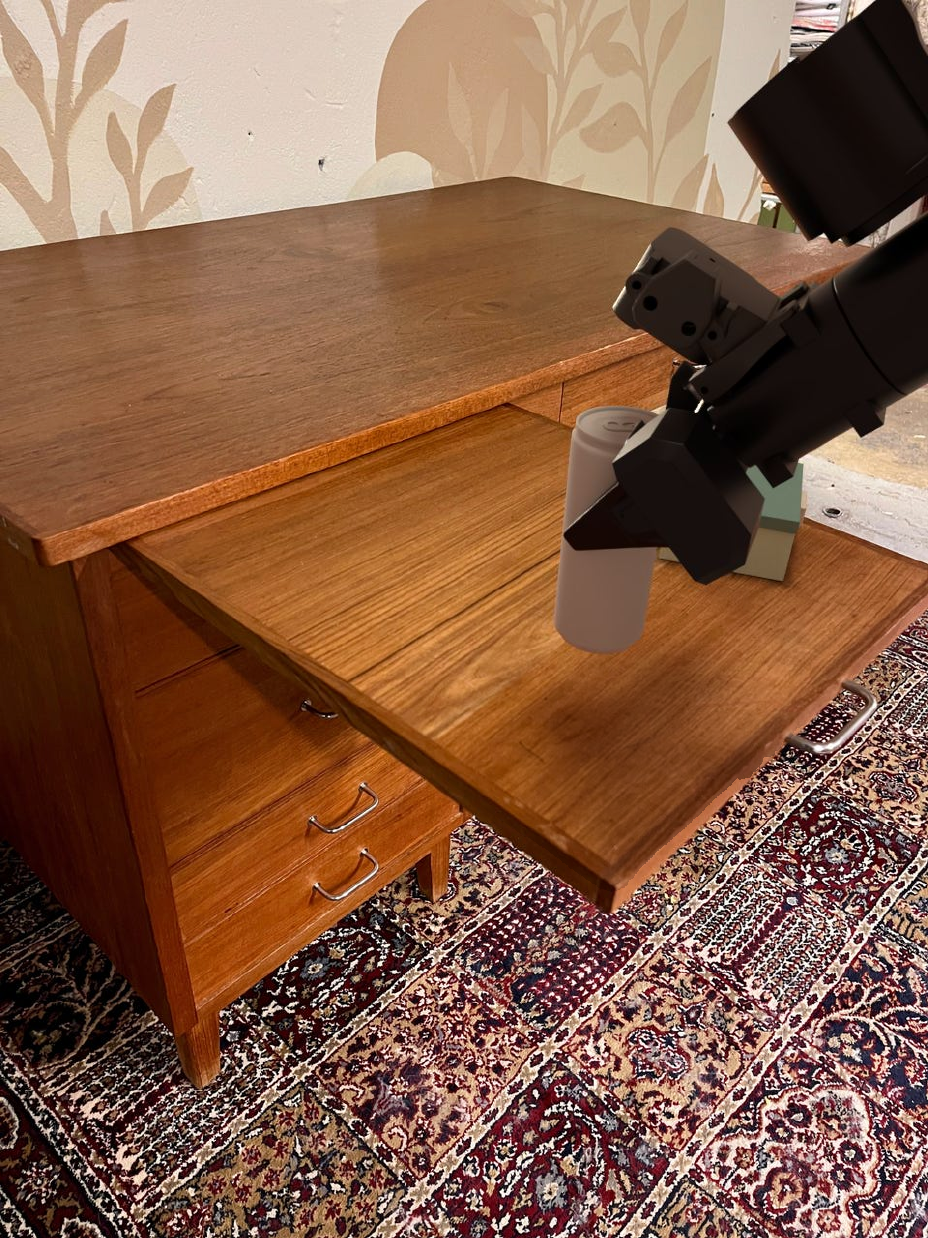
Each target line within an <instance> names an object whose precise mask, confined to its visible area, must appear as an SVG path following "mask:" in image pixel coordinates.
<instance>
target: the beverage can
mask: <svg viewBox="0 0 928 1238" xmlns="http://www.w3.org/2000/svg"><path fill="white" fill-rule="evenodd" d="M658 415H660V413H656V412H654V411H651V410H648V409H644V408H639V407H634V406H627V405H603V406H596V407H593V408H589V409H586V410H584V411H582V412H580V414H578V415H577V417H576V419H575V427H574V428H573V430H572V433H571V439H570V450H569V460H568V468H567V469H568V471H567V479H566V480H567V481H566V489H565V501H564V509H563V510H564V512H563V521H562V529H561V540H560V550H559V551H560V552H559V562H558V572H557V581H556V591H555V592H556V593H555V601H554V613H553V625H554V628H555V631H556V633H558V634H559V635H560V637H561V638H562V640H563V641H564V642H565V643H567V644H568V645H570V646H571V647H573V648H576V649H577V650H580V651H584V652H587V653H589V654H596V655H613V654H617V653H620V652H623V651H625V650H627V649H629V648H631V647H632V646H633V645H635V644H636V643H637V642H638V641H639V640H640V639H641V637H642V636H643V633H644V631H645V624H646V618H647V611H648V606H649V599H650V592H651V586H652V581H653V580H652V579H653V575H654V568H655V563H656V556H657V549H658V548H625V549H606V550H587V551H576V550H574V549H573V548H572V547H571V546H570V545H569V543H568V542H567V541H566V540H565V538H564V536H563V534H564V532H565V530H566V529H567V528H568V527H569V526H570V525H571V524H572V523H573V522H574V521H575V520H576V519H577V518H578V517H579V516H580V515H581V514H582V513H583V512H584V511H585V510H586V509H587V508H588V507H590V506H591V505H592V504H593V503H594V502H595V501H596V500H597V499H598V498H599V497H600V496H601V495H602V494H603V493H604V492H605V491H606V490H607V489H608V488H609V487H610V486H611V485H612V484H614V483H615V482H616V481H617V479H616V476H615V472H614V469H613V465H612V462H613V461H614V459H615V458H616V457H617V455H618V454H619V452H620V451H621V450H622V448H623V447H624V445H625V442H626V440H627V439H628V437H629V436H630V434H631V433H632V432H633V430H634V429H635V427H636V426H637V425H638V423H639V422H640V420H643V422H644V423H645V424H647V423H648V422H649V421H651V420H652V419H654V418H655V417H657V416H658Z"/></svg>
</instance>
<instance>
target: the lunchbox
mask: <svg viewBox="0 0 928 1238" xmlns="http://www.w3.org/2000/svg"><path fill="white" fill-rule="evenodd" d="M804 464H805V463H802V462H798V464H797V467H796V470H795V474H794V477H792V478H791V479H789V480H787V481H785V482H784V483H782V484H780V485H778V486H777V487H775V488H772V487H771V485H770V484H769V482H768V481H767V480H766V478H765V477H764V476H763V474H762V473H761V472H760V470H759V469H758V468H757V466H756V465H755V466H753V467H752V468H749V467H748V470H747V472H746V474H747V475H748V477H749V478H750V479H751V481H752V482H753V483H754V485H755V486H756V487H757V489H758V490H759V491H760V493H761V494H762V496H763V497H764V498H765V501H764V506H763V510H762V514H761V519H760V523H759V527H758V530H757V533H756V536H755V539H754V541H753V544H752V547H751V550H750V553H749V556H748V558H747V561H746V564H745V565H744V566H742V567H740V568H738V569H736V570H734V571H732V572H731V573H736V574H742V575H746V576H751V577H757V578H764V579H768V580H773V581H779V582H783V581H784V578H785V574H786V570H787V567H788V563H789V559H790V556H791V552H792V549H793V544H794V540H795V536H796V535H797V534H798V531H799V528H801V527H803V523H804V519H805V516H806V512H807V508H808V507H807V506H808V503H807V502H808V491H807V490H803V481H804V480H803V479H804ZM658 558H659V559H661V560H666V561H671V562H677V563H680V562H679V560H678V559H677V558H676V556H675V555H674V554H673V552H672V551H671V550H670V549H669V548H660V552H659V557H658Z"/></svg>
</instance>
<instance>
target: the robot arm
mask: <svg viewBox="0 0 928 1238" xmlns="http://www.w3.org/2000/svg"><path fill="white" fill-rule="evenodd" d="M726 124H727V125H728V127H729V128H730V130H731V131H732V132H733V134H734V135H735V137H736V138H737V140H738V142H739V143H740V144H741V146H742V147H743V149H744V150H745V151H746V154H748V156H749V158H750V159H751V160H752V162H753V163H754V165H755V166H756V167H757V169H758V171H759V172H760V174H761V175H762V177H763V178H764V179H765V182H767V184H768V185H769V187H770V188H771V189H772V191H773V192H774V194H775V195H776V197H777V198H778V200H779V201H780V203H781V204H782V206H783V208H785V210H786V212H787V213H788V215H789V216H790V217H791V219H792V220H793V222H794V224H795V225H796V227H797V228H798V229H799V231H800V233H801V234H802V235H803V237H804V238H805V239H806V241H807V242H811V241H813V240H815V239H816V238H818V237H820V236H822V235H823V234H824V235H825V237H826V238H827V240H828V242H829V243H830V244H831V245H832V244H834V243H837V241H839V240H841V242H842V243H843V245H844V247H845V248H850V247H852V246H854V245H856V244H858V243H859V242H861V241H862V240H864V239H866V238H868V237H869V236H871V235H873V234H874V233H875V232H877V231H878V230H880V229H881V228H882V227H884V226H886V225H887V224H889V222H891V221H892V220H894V219H895V218H896V217H898V216H899V215H900V214H902V213H903V212H904V211H906V210H907V209H909V208H910V207H911V206H913V205H914V204H915V203H916V202H917V201H919V200H920V199H922V198H924V197H925V196H926V195H927V194H928V45H927V44H926V42H925V40H924V38H923V35H922V32H921V27H920V24H919V21H918V19H917V16H916V14H915V12H914V11H913V9H912V7H911V5H909V3H908V2H907V0H873V1H872V2H871V3H870V4H868V6H866V8H864V9H863V10H862V11H860V13H858V14H857V15H855V16H854V17H853V18H851V19H850V20H849V21H848V22H846V23H845V24H844V25H842V26H841V27H840V28H838V29H837V30H836V31H835V32H834V33H832V35H830V36H829V37H827V38H826V39H825V40H824V41H823V42H821V44H819V45H818V46H817V47H816V48H814V49H813V50H810V51H808V52H805V53H802V54H799V55H797V56H796V57H794V58H793V59H792V60H791V61H790V62H788V63H787V64H786V65H785V66H784V67H783V68H781V70H780V71H778V72H777V73H776V74H775V75H774V76H773V77H771V78H770V79H769V80H768V81H767V82H766V83H765V84H764V85H762V87H760V89H758V90H757V91H756V92H755V93H754V94H753V95H752V96H751V97H749V99H747V101H745V102H744V103H743V104H742V105H741V106H740V107H739V108H737V110H736V111H735V112H734V113H733V114H732V115H731V116H730V117H729V119H728V120H727V121H726ZM612 310H613V313H614V315H615V316H616V317H617V318H618V320H620V322H622V323H623V324H625V325H626V326H627V327H629V328H631V329H632V330H634V331H637V330H641V331H644V332H645V333H646V334H647V335H650V336H651V337H653V338H654V339H655V340H657V341H658V342H660V343H662V344H663V345H664V346H665V347H667V348H669V349H670V350H672V351H673V352H675V353H677V354H678V355H680V356H681V357H683V358H684V360H682V361H681V363H680V364H679V366H678V367H677V369H676V370H675V371H674V373H673V374H672V375H671V377H670V381H669V387H668V392H667V397H666V404H665V410H664V411H662V412H661V413H659V415H658V416H657V417H655V418H654V419H652V420H651V421H649V422H648V423H647V424H645V423H644V422H643V420H640V422H639V423H638V425H637V426H636V427H635V429H634V430H633V432H632V433H631V434H630V436H629V437H628V439H627V440H626V442H625V445H624V447H623V448H622V450H621V451H620V452H619V454H618V455H617V457H616V458H615V459H614V461H613V462H612V465H613V469H614V472H615V476H616V479H617V481H616V482H615V483H614V484H612V485H611V486H610V487H609V488H608V489H607V490H606V491H605V492H604V493H603V494H602V495H601V496H600V497H599V498H598V499H597V500H596V501H595V502H594V503H593V504H592V505H591V506H590V507H588V508H587V509H586V510H585V511H584V512H583V513H582V514H581V515H580V516H579V517H578V518H577V519H576V520H575V521H574V522H573V523H572V524H571V525H570V526H569V527H568V528H567V529H566V530H565V532H564V534H563V536H564V538H565V540H566V541H567V542H568V543H569V545H570V546H571V547H572V548H573V549H574V550H576V551H587V550H606V549H625V548H657V549H658V548H659V549H661V548H669V549H670V550H671V551H672V552H673V554H674V555H675V556H676V558H677V559H678V560H679V562H678V563H680V565H681V566H682V567H683V568H684V569H685V571H686V572H687V574H689V576H690V577H691V578H692V580H693V581H694V582H695V583H698V584H701V585H704V586H708V585H710V584H712V583H714V582H715V581H717V580H719V579H722V578H723V577H725V576H727V575H729V574H730V573H733V572H732V571H734V570H736V569H738V568H740V567H742V566H744V565H745V564H746V561H747V558H748V556H749V553H750V550H751V547H752V544H753V541H754V539H755V536H756V533H757V530H758V527H759V523H760V519H761V514H762V510H763V506H764V501H765V498H764V497H763V496H762V494H761V493H760V491H759V490H758V489H757V487H756V486H755V485H754V483H753V482H752V481H751V479H750V478H749V477H748V475H747V474H746V472H747V470H748V467H749V468H752V467H753V466H755V465H756V466H757V468H758V469H759V470H760V472H761V473H762V474H763V476H764V477H765V478H766V480H767V481H768V482H769V484H770V485H771V487H772V488H775V487H777V486H778V485H780V484H782V483H784V482H785V481H787V480H789V479H791V478H792V477H794V474H795V470H796V467H797V464H798V463H799V461H800V459H802V458H803V457H805V456H807V455H809V454H810V453H812V452H814V451H815V450H817V449H818V448H821V447H822V446H824V445H825V444H828V443H829V442H831V441H832V440H834V439H836V438H837V437H839V436H841V435H842V434H843V435H844V433H846V432H848V431H850V430H851V429H854V431H855V433H856V434H857V435H858V436H859V438H860V439H861V438H864V437H865V436H867V435H870V433H873V432H874V431H875V430H878V429H879V428H882V427H884V425H885V421H886V413H887V409H888V408H889V407H890V406H892V405H895V403H898V402H899V401H901V400H903V399H904V398H906V397H907V396H909V395H911V394H912V393H914V392H916V391H918V390H919V389H921V388H923V387H925V386H927V385H928V210H926V211H924V213H922V214H921V215H918V217H916V218H915V219H913V220H912V221H911V222H909V223H908V224H906V225H904V227H902V228H901V229H899V230H898V231H896V232H895V233H894V234H892V235H890V236H889V237H888V238H886V239H885V240H883V241H882V242H881V243H878V245H876V246H875V247H873V248H872V249H870V250H869V251H868V252H866V253H865V254H863V255H862V256H861V257H859V258H858V259H857V260H855V261H853V262H852V263H851V264H849V265H848V266H846V267H845V268H843V269H842V270H840V271H839V272H838V273H836V274H835V275H832V276H831V277H830V278H829V279H827V280H825V282H823V283H822V284H820V283H819V282H818V280H817V279H814V281H812V282H810V283H809V284H808V283H807V281H806V280H803V281H801V282H799V283H797V284H796V285H795V286H793V287H792V288H790V289H789V290H788V291H786V292H784V293H783V294H782V295H780V296H779V295H777V294H776V293H774V292H773V291H771V290H770V289H768V288H767V287H766V286H764V285H763V284H761V283H760V282H759V281H758V280H757V279H756V278H755V277H753V275H751V274H750V273H749V272H748V271H746V270H744V269H743V268H742V267H740V266H738V265H737V264H736V263H734V262H732V261H731V260H730V259H728V258H726V257H725V256H723V255H721V254H720V253H719V252H717V251H715V250H714V249H713V248H711V247H710V246H708V245H707V244H705V243H703V242H702V241H701V240H699V239H697V238H696V237H695V236H693V235H692V234H690V233H688V232H686V231H684V230H682V229H680V228H677V227H672V226H670V227H667V228H665V230H663V231H662V232H661V233H660V234H658V235H657V236H656V237H655V238H654V239H653V240H652V241H651V242H650V243H649V245H648V246H647V248H646V250H645V252H644V253H643V254H642V256H641V259H639V262H638V264H637V265H636V267H635V268H634V270H633V271H632V273H631V274H630V275H629V276H628V277H627V279H626V281H625V285H624V287H623V289H622V290H621V291H620V294H619V295H618V297H617V299H616V300H615V301H614V303H613V305H612ZM692 363H693V364H696V365H698V366H703V367H702V368H700V369H699V370H697V369H696V368H695V367H694V366H693V364H692Z"/></svg>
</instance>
